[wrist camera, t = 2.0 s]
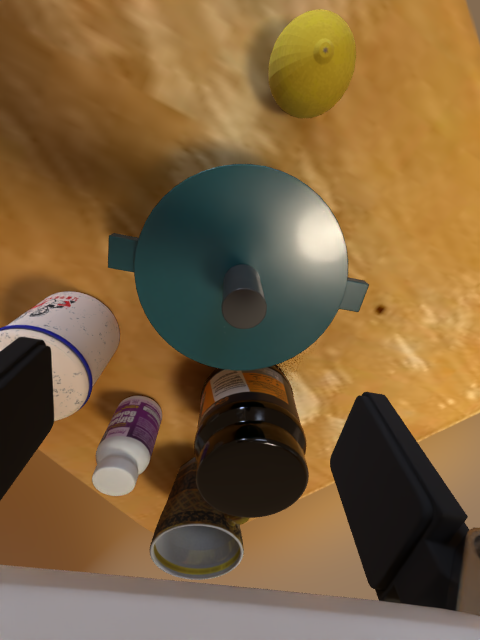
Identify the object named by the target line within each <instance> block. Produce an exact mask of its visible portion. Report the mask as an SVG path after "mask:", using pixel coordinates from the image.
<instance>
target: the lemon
mask: <svg viewBox="0 0 480 640" xmlns="http://www.w3.org/2000/svg"><path fill="white" fill-rule="evenodd" d="M355 60H356V47H355V42H354V38H353V34H352V32H351V30H350V28H349V27H348V25H347V23H346V22H345V21H344V20H343V19H342V18H341V17H340V16H339V15H337V14H335V13H333V12H331V11H328V10H321V9H319V10H313V11H308V12H306V13H304V14H302V15H300V16H298V17H296V18H295V19H294V20H293V21H292V22H291V23H290V24H289V25H287V26H286V27H285V28H284V30H283V31H282V33H281V34H280V36H279V37H278V39H277V40H276V42H275V45H274V48H273V50H272V53H271V56H270V62H269V68H268V73H269V85H270V89H271V93H272V95H273V97H274V99H275V101H276V103H277V104H278V105H279V106H280V108H281V109H282V110H283V111H285V112H286V113H288V114H289V115H291V116H294V117H298V118H313V117H316V116H319V115H321V114H323V113H325V112H326V111H328V110H329V109H331V108H332V107H333V106H334V105H335V104H336V103H337V102H338V101H339V100H340V99H341V97H342V96H343V94H344V93H345V91H346V89H347V88H348V86H349V83H350V81H351V78H352V75H353V72H354V67H355Z"/></svg>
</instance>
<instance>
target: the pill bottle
mask: <svg viewBox="0 0 480 640" xmlns="http://www.w3.org/2000/svg"><path fill="white" fill-rule="evenodd" d="M161 420H162V411H161V408H160V407H159V406H158V404H157V403H156V402H155V401H153V400H152V399H150V398H148V397H145V396H132V397H129V398H126V399H124V400H123V401H122V402H121V403H120V404H119V406H118V407H117V409H116V411H115V413H114V415H113V417H112V419H111V421H110V424H109V426H108V428H107V430H106V432H105V434H104V436H103V438H102V440H101V442H100V444H99V446H98V448H97V451H96V461H97V466H96V469H95V471H94V473H93V476H92V482H93V485H94V486H95V487H96V489H98V490H99V491H100V492H102V493H104V494H107V495H112V496H121V495H125V494H128V493H129V492H131V491H132V490H133V489H134V487H135V484H136V481H137V478H138V475H139V474H141V473H142V472H143V471H144V470H145V469H146V468H147V466H148V464H149V462H150V458H151V455H152V452H153V448H154V445H155V441H156V437H157V434H158V431H159V427H160V424H161Z"/></svg>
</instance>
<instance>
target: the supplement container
mask: <svg viewBox="0 0 480 640" xmlns="http://www.w3.org/2000/svg"><path fill="white" fill-rule="evenodd" d="M305 452H306V437H305V433H304V430H303V428H302V426H301V424H300V420H299V416H298V413H297V409H296V405H295V402H294V398H293V391H292V388H291V385H290V383H289V381H288V379H287V378H286V376H285V375H284V374H283V373H282V372H281V371H280V370H279V369H278V368H276V367H275V366H270V367H266V368H262V369H255V370H241V371H235V370H225V369H219V368H217V369H216V370H215V371H214V372H213V373H212V374H211V375H210V376H209V377H208V379H207V380H206V382H205V384H204V386H203V389H202V394H201V406H200V414H199V421H198V429H197V433H196V436H195V441H194V454H195V458H196V460H197V471H196V485H197V488H198V491H199V493H200V495H201V496H202V498H203V499H204V500H205V501H206V502H207V503H208V504H209V505H210V506H212V507H213V508H215V509H217V510H218V511H221V512H223V513H226V514H228V515H232V516H237V517H246V518H254V517H262V516H268V515H271V514H275V513H277V512H280V511H282V510H284V509H286V508H287V507H289V506H291V505H292V504H293V503H294V502H296V501H297V500H298V499H299V498H300V496H301V495H302V494H303V492H304V491H305V489H306V486H307V483H308V477H309V475H308V467H307V463H306V460H305Z"/></svg>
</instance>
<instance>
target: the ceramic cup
mask: <svg viewBox="0 0 480 640" xmlns="http://www.w3.org/2000/svg"><path fill="white" fill-rule="evenodd" d="M196 471H197V460H196V458H195V457H194V458H193V459H191V460H190V461H188V462H187V463H186V464H184V465H183V466H181V467H180V469H179V471H178V474H177V477H176V479H175V482H174V484H173V487H172V490H171V492H170V495H169V498H168V500H167V503H166V505H165V507H164V510H163V512H162V514H161V516H160V519H159V522H158V524H157V527H156V530H155V533H154V536H153V539H152V542H151V545H150V555H151V558H152V560H153V562H154V563H155V564H156V565H157V566H158V567H159V568H160V569H161V570H163V571H164V572H166V573H168V574H171V575H173V576H176V577H180V578H184V579H198V580H200V579H209V578H215V577H218V576H221V575H224V574H226V573H228V572H230V571H231V570H233V569H234V568H235V567H236V566H237V565H238V564H239V563H240V562H241V560H242V557H243V553H244V549H243V542H242V536H241V530H240V525H241V524H244V523H245V522H247V521H248V520H249V518H246V517H237V516H232V515H228V514H226V513H223V512H221V511H218V510H217V509H215V508H213V507H212V506H210V505H209V504H208V503H207V502H206V501H205V500H204V499H203V498H202V496H201V495H200V493H199V491H198V488H197V485H196Z"/></svg>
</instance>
